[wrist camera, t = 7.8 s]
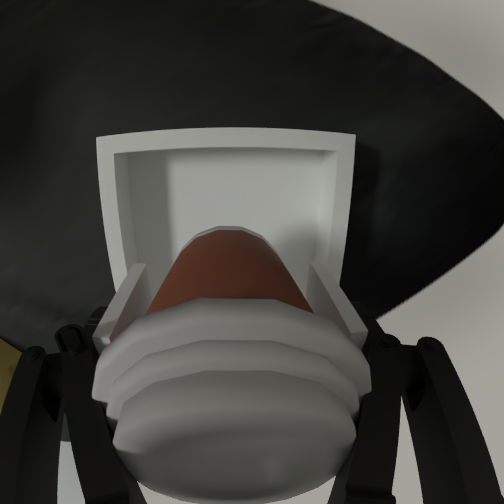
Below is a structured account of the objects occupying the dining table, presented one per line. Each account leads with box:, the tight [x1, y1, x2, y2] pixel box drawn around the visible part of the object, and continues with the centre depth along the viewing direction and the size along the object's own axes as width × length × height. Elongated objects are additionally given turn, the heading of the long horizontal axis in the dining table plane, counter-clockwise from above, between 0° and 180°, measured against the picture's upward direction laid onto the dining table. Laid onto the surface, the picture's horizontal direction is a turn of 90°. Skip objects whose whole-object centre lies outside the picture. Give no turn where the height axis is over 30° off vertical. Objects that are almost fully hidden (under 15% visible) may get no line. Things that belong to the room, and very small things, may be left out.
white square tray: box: [96, 128, 356, 301], centre depth 22 cm, size 17×17×4 cm
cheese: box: [0, 338, 22, 414], centre depth 24 cm, size 10×11×10 cm
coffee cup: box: [92, 226, 372, 504], centre depth 12 cm, size 9×9×12 cm
